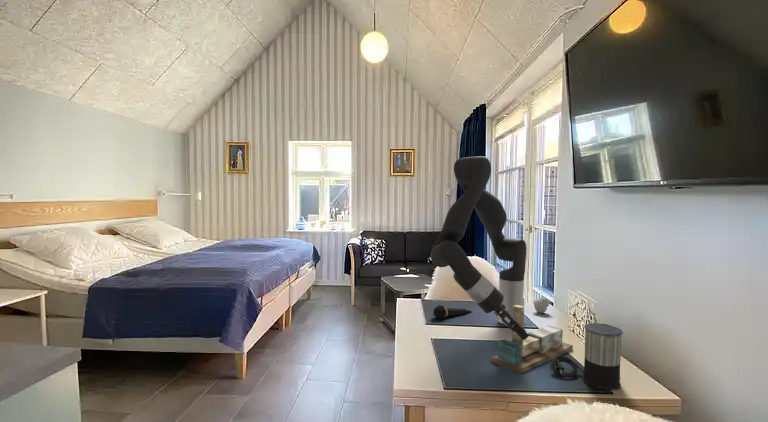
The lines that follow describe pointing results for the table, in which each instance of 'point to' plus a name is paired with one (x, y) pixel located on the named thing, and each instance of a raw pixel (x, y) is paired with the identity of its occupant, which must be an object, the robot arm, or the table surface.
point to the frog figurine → (541, 304)
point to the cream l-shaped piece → (530, 342)
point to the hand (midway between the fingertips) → (524, 335)
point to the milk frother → (597, 357)
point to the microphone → (448, 312)
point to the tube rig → (549, 350)
